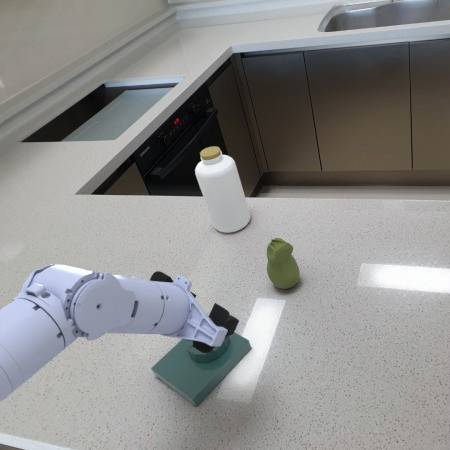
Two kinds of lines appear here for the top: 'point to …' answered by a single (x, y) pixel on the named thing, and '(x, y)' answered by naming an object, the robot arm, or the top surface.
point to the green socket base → (199, 366)
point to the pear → (282, 264)
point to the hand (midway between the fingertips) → (212, 313)
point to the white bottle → (222, 190)
